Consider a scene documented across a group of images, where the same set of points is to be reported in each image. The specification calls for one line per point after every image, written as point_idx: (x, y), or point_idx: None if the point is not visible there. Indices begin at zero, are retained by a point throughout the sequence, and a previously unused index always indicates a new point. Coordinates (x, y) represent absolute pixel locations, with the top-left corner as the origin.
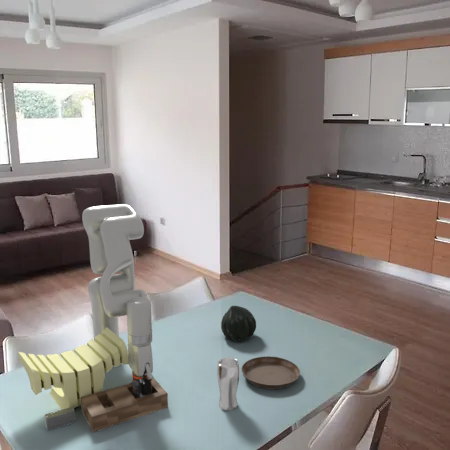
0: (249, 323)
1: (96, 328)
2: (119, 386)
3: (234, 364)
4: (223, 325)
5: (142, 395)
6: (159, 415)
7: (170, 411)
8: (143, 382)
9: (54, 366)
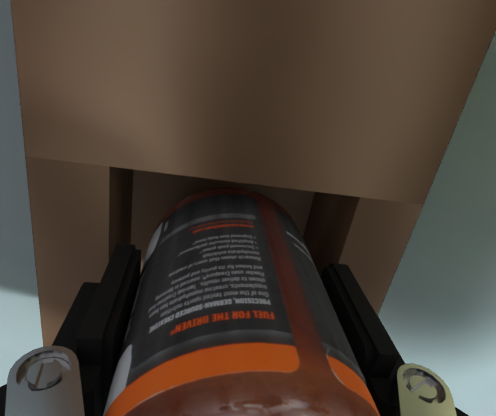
0: None
1: None
2: (438, 151)
3: None
4: None
5: (149, 247)
6: (27, 235)
7: (37, 301)
8: (10, 387)
9: None
